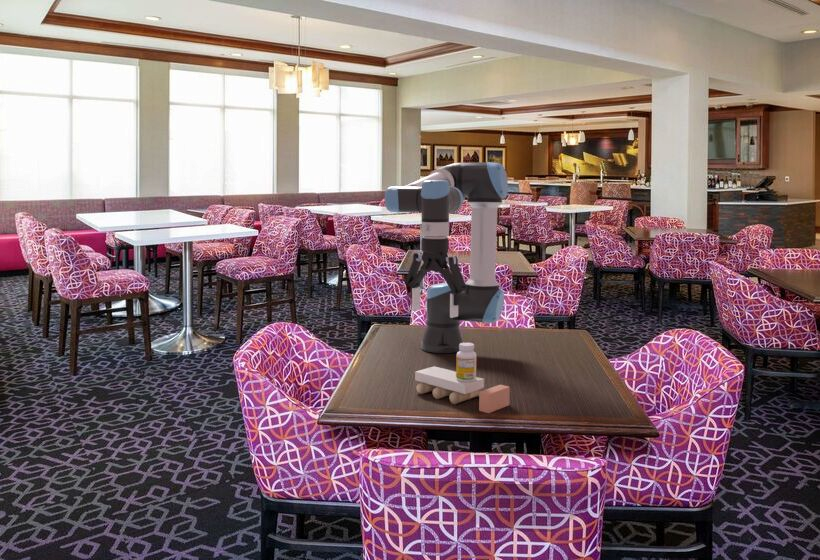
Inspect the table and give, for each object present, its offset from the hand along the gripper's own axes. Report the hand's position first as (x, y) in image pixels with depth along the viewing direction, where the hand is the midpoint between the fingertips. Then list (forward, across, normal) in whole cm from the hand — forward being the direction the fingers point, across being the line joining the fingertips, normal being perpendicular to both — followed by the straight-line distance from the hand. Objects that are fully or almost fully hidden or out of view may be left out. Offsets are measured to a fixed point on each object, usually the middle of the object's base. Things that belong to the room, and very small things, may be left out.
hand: (434, 313), depth 189 cm
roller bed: (+22, +6, -1) cm, 23 cm away
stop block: (+22, +22, -2) cm, 31 cm away
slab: (+19, +6, -1) cm, 20 cm away
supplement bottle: (+16, +12, -1) cm, 20 cm away
